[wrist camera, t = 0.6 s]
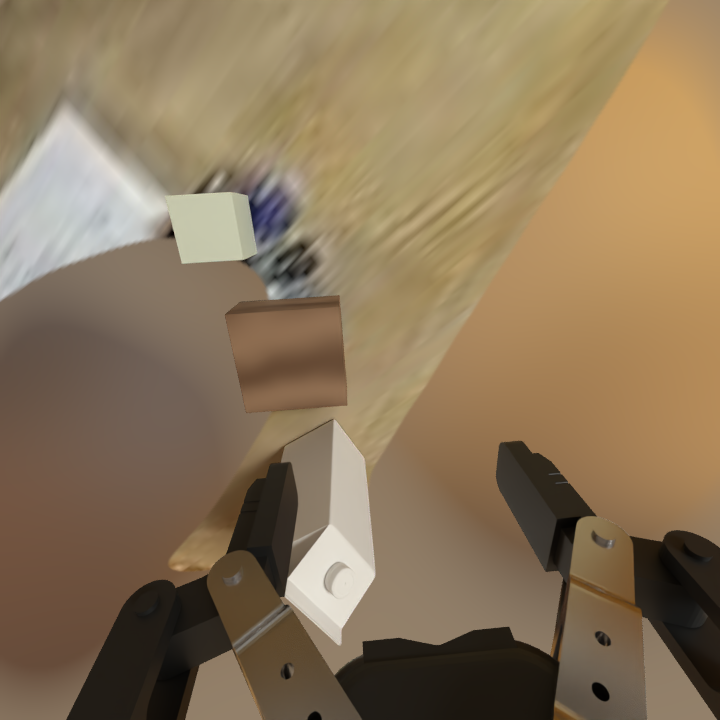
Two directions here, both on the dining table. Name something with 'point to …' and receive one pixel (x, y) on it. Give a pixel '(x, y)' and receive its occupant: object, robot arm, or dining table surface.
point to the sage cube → (212, 227)
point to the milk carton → (329, 528)
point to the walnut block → (289, 353)
